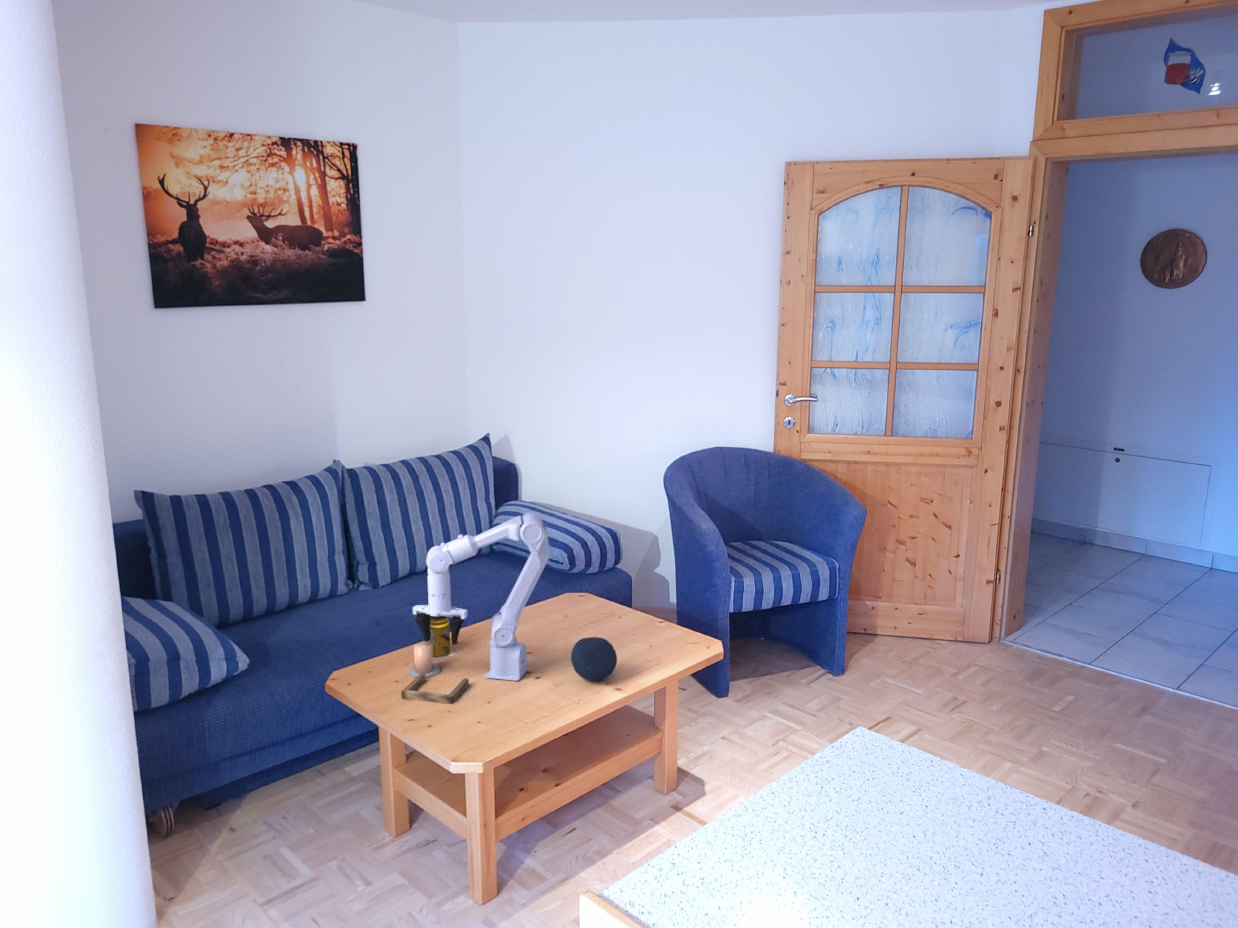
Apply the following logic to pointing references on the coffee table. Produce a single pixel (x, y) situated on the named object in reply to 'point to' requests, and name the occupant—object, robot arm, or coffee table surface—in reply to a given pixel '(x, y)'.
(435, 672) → the coaster
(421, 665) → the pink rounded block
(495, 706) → the coffee table surface
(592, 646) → the decorative stone
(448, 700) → the holder
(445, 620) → the condiment
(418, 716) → the coffee table surface
